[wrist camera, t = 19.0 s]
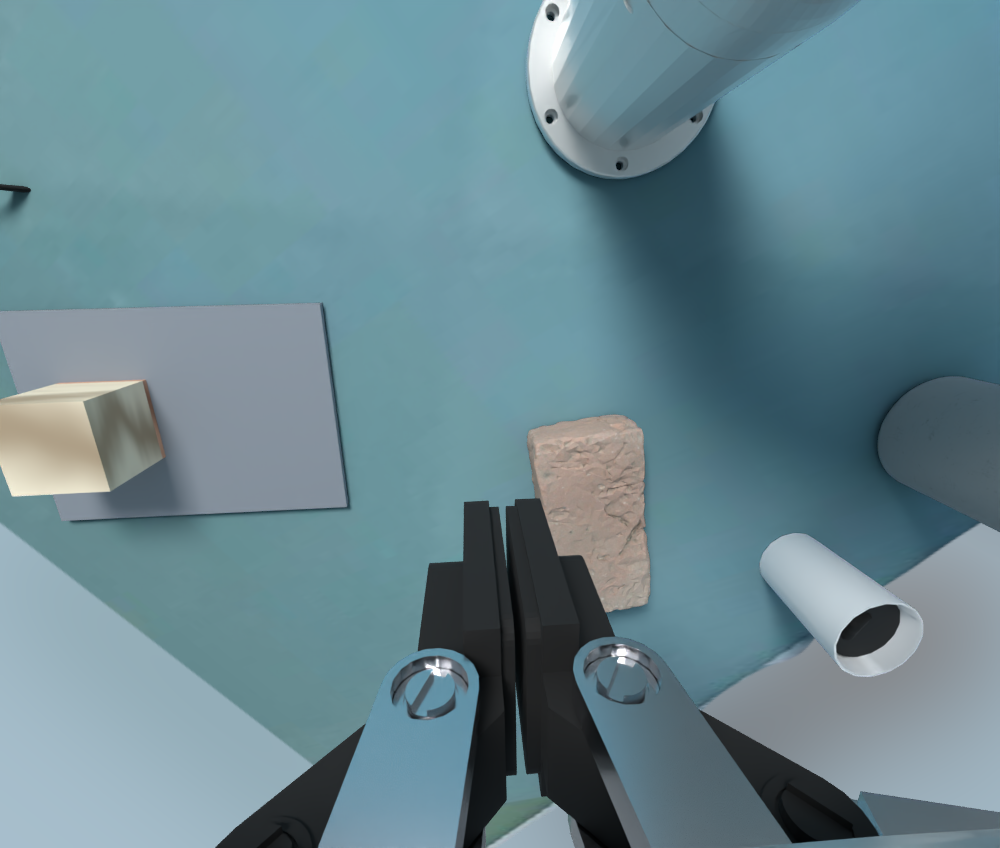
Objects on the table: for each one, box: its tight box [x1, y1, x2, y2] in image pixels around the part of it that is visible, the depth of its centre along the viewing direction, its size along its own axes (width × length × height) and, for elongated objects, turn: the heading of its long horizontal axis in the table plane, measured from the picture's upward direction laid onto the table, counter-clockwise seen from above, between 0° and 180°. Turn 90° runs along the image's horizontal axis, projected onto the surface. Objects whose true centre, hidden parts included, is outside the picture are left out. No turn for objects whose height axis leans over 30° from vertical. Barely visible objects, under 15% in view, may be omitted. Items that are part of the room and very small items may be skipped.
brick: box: [527, 415, 650, 612], centre depth 39 cm, size 16×8×5 cm, turn 9°
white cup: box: [759, 533, 923, 677], centre depth 39 cm, size 7×7×10 cm
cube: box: [0, 380, 166, 496], centre depth 33 cm, size 6×6×6 cm
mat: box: [0, 303, 349, 521], centre depth 36 cm, size 16×22×1 cm
